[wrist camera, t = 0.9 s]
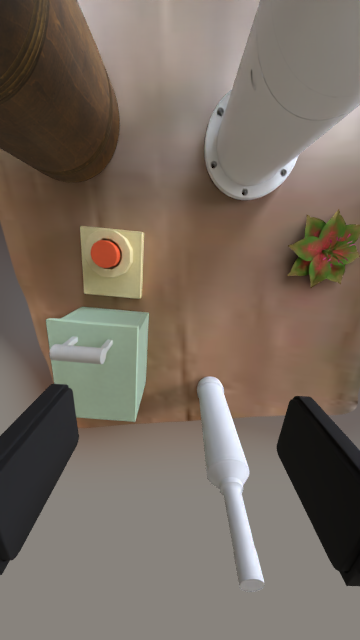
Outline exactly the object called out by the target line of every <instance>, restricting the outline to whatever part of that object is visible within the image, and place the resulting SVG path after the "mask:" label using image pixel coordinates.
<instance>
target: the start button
mask: <svg viewBox="0 0 360 640" xmlns="http://www.w3.org/2000/svg"><path fill="white" fill-rule="evenodd" d="M120 256H121V255H120V250H119V248H118V247H117V246H116V244H114V243H113V242H110V241H105V240H100V241H97V242H95V243H94V244H93V246H92V248H91V257H92V260H93V261H94V263H95V264H96V265H98V266H99V267H102V268H109V267H113V266H115V265H117V264H118V262H119V261H120Z"/></svg>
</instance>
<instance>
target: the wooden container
mask: <svg viewBox="0 0 360 640" xmlns="http://www.w3.org/2000/svg"><path fill="white" fill-rule="evenodd" d="M118 136H119V110H118V104H117V100H116V96H115V93H114V90H113V87H112V84H111V82H110V79H109V77H108V74H107V71H106V69H105V67H104V64H103V61H102V59H101V56H100V53H99V51H98V48H97V46H96V44H95V41H94V39H93V36H92V34H91V32H90V29H89V27H88V25H87V22H86V20H85V17H84V15H83V13H82V11H81V8H80V6H79V4H78V1H77V0H0V148H1V149H3V150H4V151H6V152H8V153H9V154H11V155H13V156H15V157H16V158H18V159H20V160H21V161H23V162H25V163H26V164H28V165H30V166H32V167H33V168H35V169H37V170H38V171H40V172H42V173H44V174H46V175H47V176H50V177H52V178H54V179H57V180H60V181H65V182H81V181H85V180H88V179H90V178H92V177H94V176H96V175H97V174H98V173H100V172H101V171H102V170H103V169H104V168H105V167H106V166H107V164H108V163H109V161H110V160H111V158H112V156H113V154H114V151H115V149H116V145H117V141H118Z"/></svg>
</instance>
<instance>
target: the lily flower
mask: <svg viewBox="0 0 360 640" xmlns="http://www.w3.org/2000/svg"><path fill="white" fill-rule="evenodd" d="M339 213H340V211H339V209H338V211H337V212H336V213H335V214H334V216H333V217H332V218H331V219H330V220H329V221H328V222H327V224H326V223H325V222H324V221H322V220H320V219H318V218H314V217H311V218H310V216H309V215H307V220H306V227H305V238H304V239H302V240H300V241H298V242H296V243H294V244H293V245H292V244H291V245H288V247H290V248H291V249H292V250H293V251H295V253H296V254H297V255H298V256H299V257H298V258H297V260H296V262H295V263H294V265H293V267H292V269H291V272H290V273H289V274H288V276H295V275H297V276H304V275H308V274H309V275H310V283H311V288H312V287H313V286H315V285H316V284H318V282H321V281H323V280H325V279H326V278H327V279H329V280H331V281H334V282H338V283H339V284H341V280H342V276H343V275H344V271H345V265H346V264H349V263H351V262H352V261H354V260H355V259H356V258H358V257H360V255H359V253H358V252H357V248H356V246H355V245H354V243H355V242H356V241H357V239H358V237H359V235H360V225H359V224H358V225H356V224H352V225H346V223H345V221H344V219H343V217H342V216H341V215H340V214H339Z"/></svg>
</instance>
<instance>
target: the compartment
mask: <svg viewBox="0 0 360 640" xmlns="http://www.w3.org/2000/svg"><path fill="white" fill-rule="evenodd" d="M61 319H67V320H79V321H90V322H101V323H112V324H123V325H134V326H139V338H138V373H137V407H136V417H137V413H138V409H139V405H140V402H141V398H142V394H143V391H144V387H145V383H146V364H147V342H148V321H149V313H147V312H136V311H125V310H114V309H103V308H92V307H80V308H79V309H77V310H75V311H73V312H71V313H70V314H68V315H66V316H64V317H63V318H61Z"/></svg>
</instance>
